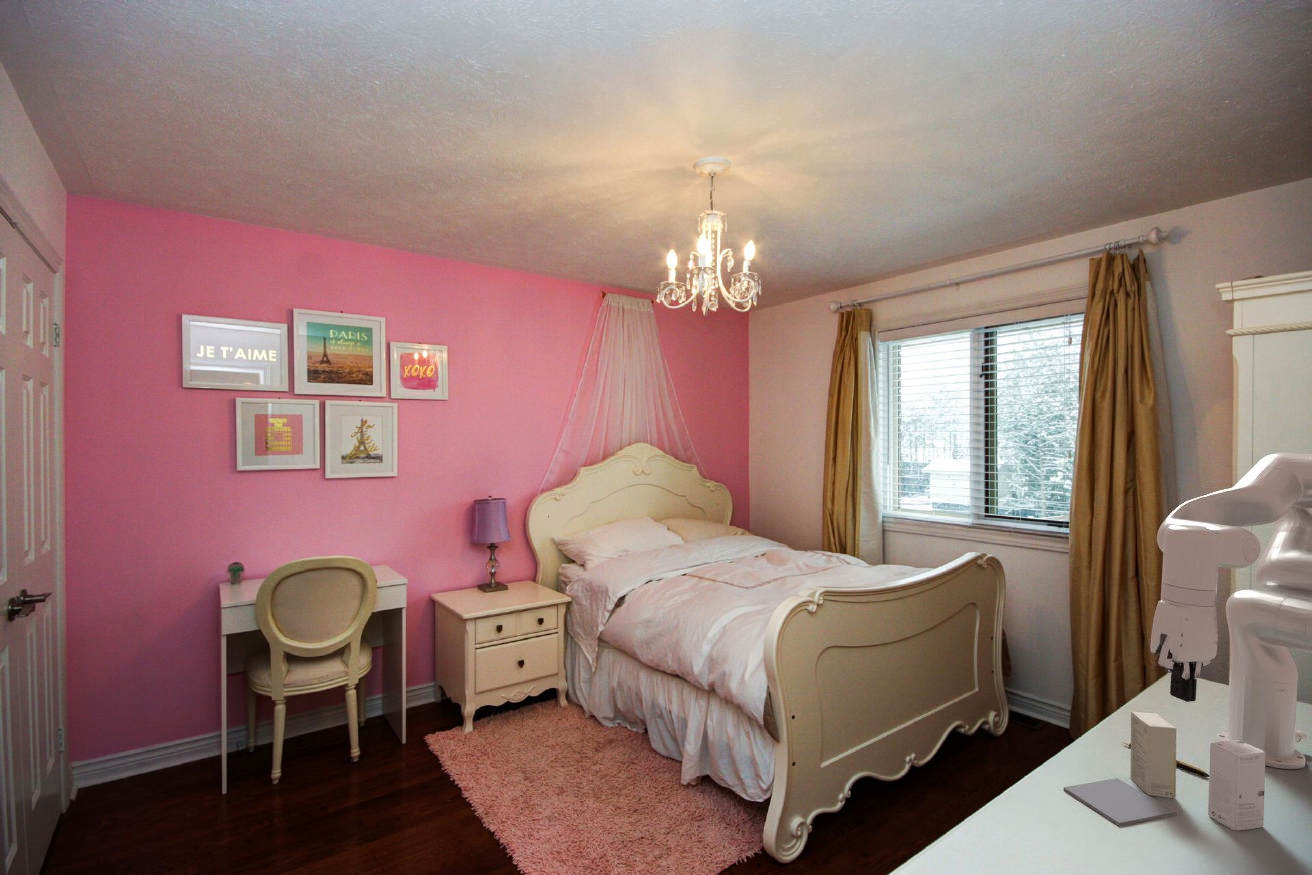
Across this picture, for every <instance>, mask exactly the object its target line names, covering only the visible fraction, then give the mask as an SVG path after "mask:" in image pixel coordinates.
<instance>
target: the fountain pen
mask: <svg viewBox="0 0 1312 875" xmlns="http://www.w3.org/2000/svg"><path fill="white" fill-rule="evenodd" d="M1122 744H1124V745H1126V746H1128V748H1130V749H1131V742H1130V743H1127V742H1124V741H1122ZM1176 768H1177V769H1181V770H1184V771H1185V772H1188V773H1192V774H1194V775H1196V776H1197V775H1198V776H1200V777H1203V778H1209V774H1208V773H1207V772H1206V771H1204V770H1203V769H1200V768H1198V767H1196V766H1194V765H1192V764H1189V763H1186V762H1184V761H1182V760H1177V759H1176Z"/></svg>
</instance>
